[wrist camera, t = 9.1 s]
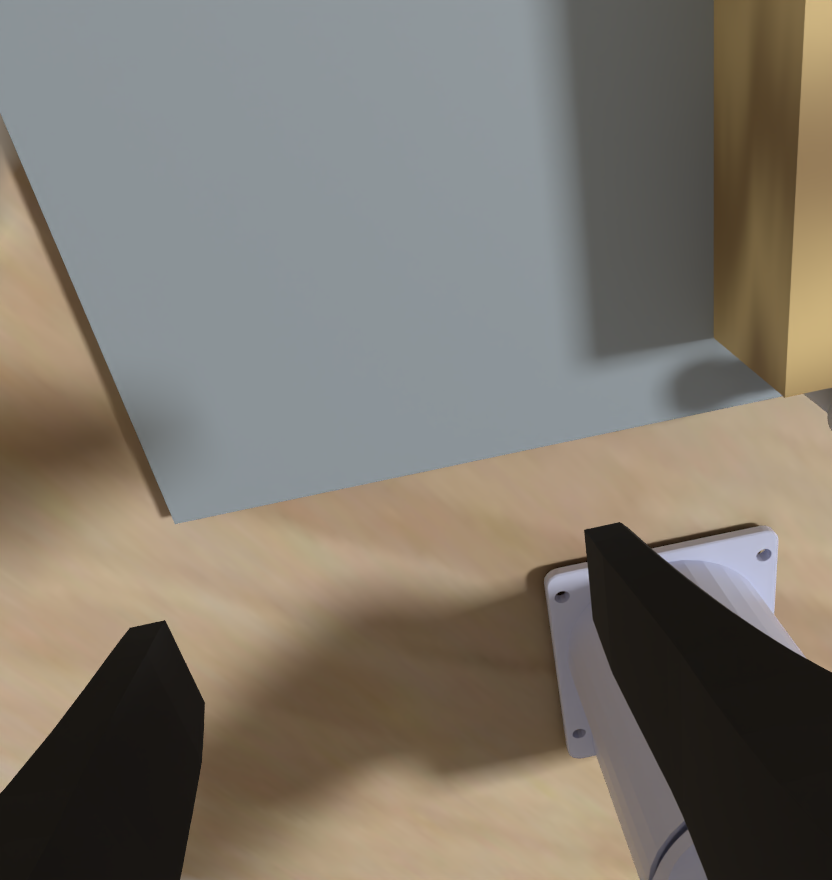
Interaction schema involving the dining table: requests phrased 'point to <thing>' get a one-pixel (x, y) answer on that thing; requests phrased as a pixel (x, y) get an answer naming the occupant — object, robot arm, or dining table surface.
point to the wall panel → (377, 226)
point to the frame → (774, 189)
